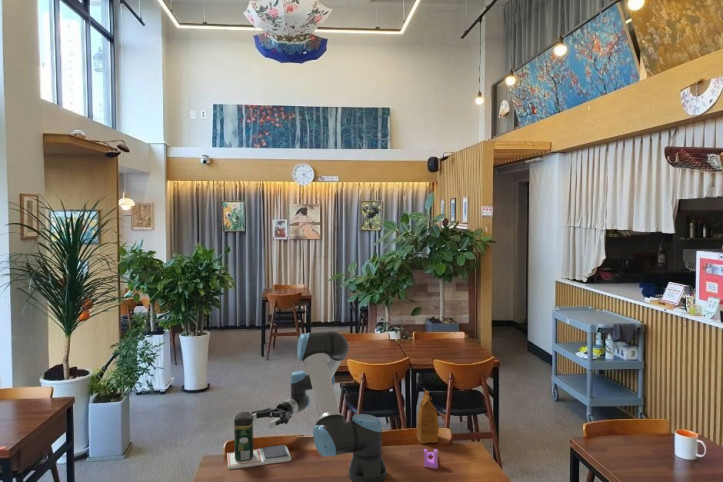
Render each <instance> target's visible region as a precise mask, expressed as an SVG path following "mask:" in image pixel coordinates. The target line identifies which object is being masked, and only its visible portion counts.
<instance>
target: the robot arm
mask: <svg viewBox="0 0 723 482" xmlns="http://www.w3.org/2000/svg"><path fill="white" fill-rule="evenodd" d="M349 347H350V346H349V342H348V340H347V339H346V337H345V335H343V334H341V333H340V332H337V331H332V330H331V331H329V330H328V331H319V332H307V333H301V334H300V335H299V337H298V339H297V348H296V349H297V353H296V354H297V359H298V361H300V362H302V363H303V366H304V367H305V368H307V370H308V374H307V373H306V372H305V370H296V371H295V370H294V371H293V372H291V374H290V380H289V381H290V398H288V399H287V400H284V401H283V402H280V403H279V404H277V406H276V408H275V407H274V408H273V409H272V408H271V407H267V408H264V409H260V410H254V411H252V412H251V414H252V416H253V422H255V421H256V420H257V419H263V418H269V419H270V418H271V419H272V418H275V419H273V420H272V421H270V422H269V429H270V430H272V429H274V428H276V427H277V426H280V425H283V424H284V425H288V424H289V421H290V420H291V418H292V417H293V415H295V414H297V413H300V412H302V411H304V410H306V409H307V408H308V407H310V406H309V405H310V404H311V401H310V397H309V395H308V394H307V393H306V392H307V391H312V392H313V393H312V394H313V398H314V403H315V408H316V413H317V417H318V419H317V421H315V426H314V427H313V431H312V434H313V442H314V446H315V448H316V450H317V452H318V454H319V455H321V456H322V457H335V456H339V455H346V454H352V457H351V461H350V464H349V467H348V478H349V479H350V480H351V481H353V482H381V481H384V480H385V479H386V477H387V467H386V464H385V461H384V458H383V447H382V445H383V444H382V443H383V440H382V439H383V438H382V436H383V435H382V434H383V429H382V421H381V419H379V418H378V417H377V416H374V415H371V414H364V413H360V414H359V413H358V414H354V415H353V416H352V418H351V420H348V421H346V419H345V415H344V414H342V413H340V410H339V406H338V401H337V398H336V393H335V390H334V386H335V382H336V379H335V373H337V370H338V369H339V366H340V365H341V362H342V361H344V360H345V359H346V358H347V356H348V354H349V351H350V349H349Z"/></svg>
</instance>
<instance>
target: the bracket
mask: <svg viewBox="0 0 723 482" xmlns="http://www.w3.org/2000/svg"><path fill="white" fill-rule="evenodd" d="M428 456H433V457H432V458H430V457H428ZM438 463H439V462H438V448H437V449H435V448H434V449H433V451H428V448H424V449H423V468H424V467H430V468H429V469H438V467H439V466H438V465H439V464H438Z"/></svg>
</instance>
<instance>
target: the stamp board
mask: <svg viewBox="0 0 723 482" xmlns="http://www.w3.org/2000/svg"><path fill="white" fill-rule="evenodd" d="M285 446H286V448H287V451H288V453H289V456H290V458H284V459H277V460H269V461H264V460H263V456H262V452H261V448H256V449H253V457H252V459H250V460H246V461H238V460H236V459H235V451H233V452H227V453H226V458H227V469H228V470H234V469H243V468H248V467H256V466H263V465H271V464H272V465H273V464H278V463H285V462H291V461H292V457H291V454H290V452H289V448H288V447H287V445H285Z"/></svg>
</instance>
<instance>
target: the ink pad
mask: <svg viewBox="0 0 723 482" xmlns="http://www.w3.org/2000/svg"><path fill="white" fill-rule="evenodd" d="M286 446H287V445H285V444H280V445H273V446H272V445H271V446H265V447H261V448H260V449H261V452H262V456H263V460H264V461H269V460H277V459H284V458H290V457H291V455H290V456H289V454H290V452H289V453H288V451H289V450H288V451H287V449H288V447H287V448H286Z"/></svg>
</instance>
